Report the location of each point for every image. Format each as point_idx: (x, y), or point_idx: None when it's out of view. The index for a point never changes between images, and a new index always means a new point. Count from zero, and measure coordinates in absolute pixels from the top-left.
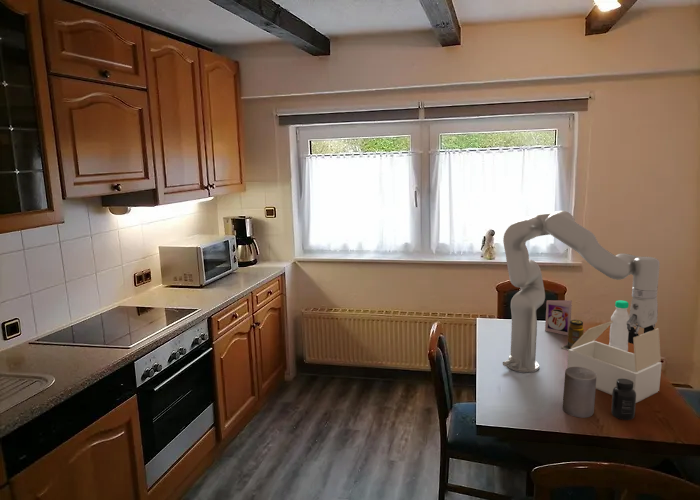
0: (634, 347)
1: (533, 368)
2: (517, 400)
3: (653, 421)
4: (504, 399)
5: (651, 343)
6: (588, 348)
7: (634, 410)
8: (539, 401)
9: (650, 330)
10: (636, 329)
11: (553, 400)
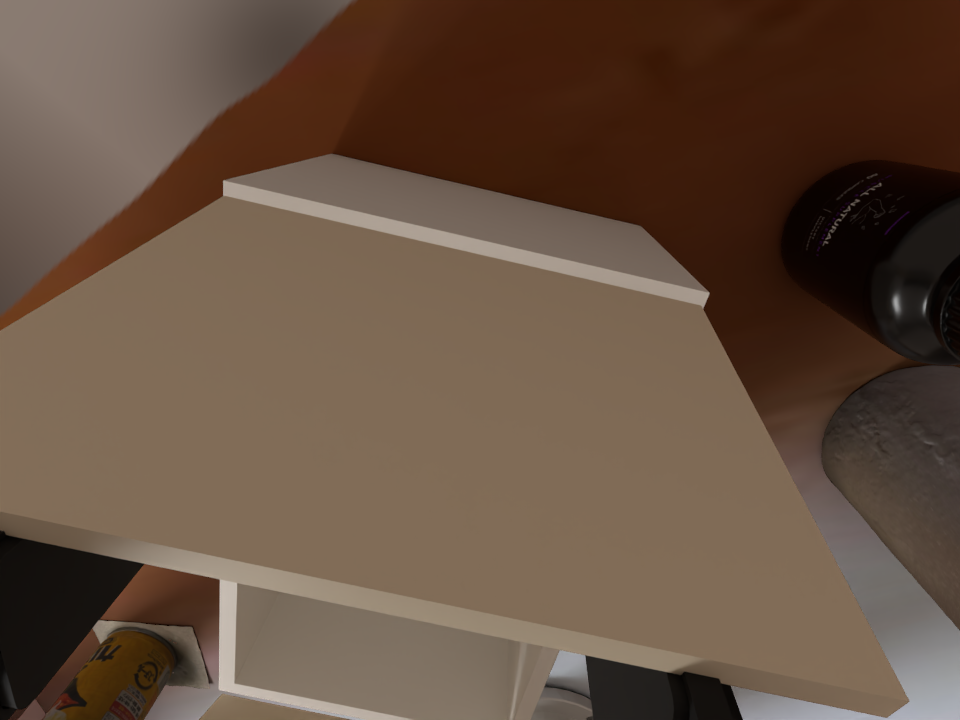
0: (800, 516)
1: (565, 707)
2: (929, 651)
3: (839, 37)
4: (946, 686)
5: (304, 367)
6: (318, 662)
7: (914, 165)
8: (890, 588)
9: (51, 557)
10: None
11: (843, 550)
